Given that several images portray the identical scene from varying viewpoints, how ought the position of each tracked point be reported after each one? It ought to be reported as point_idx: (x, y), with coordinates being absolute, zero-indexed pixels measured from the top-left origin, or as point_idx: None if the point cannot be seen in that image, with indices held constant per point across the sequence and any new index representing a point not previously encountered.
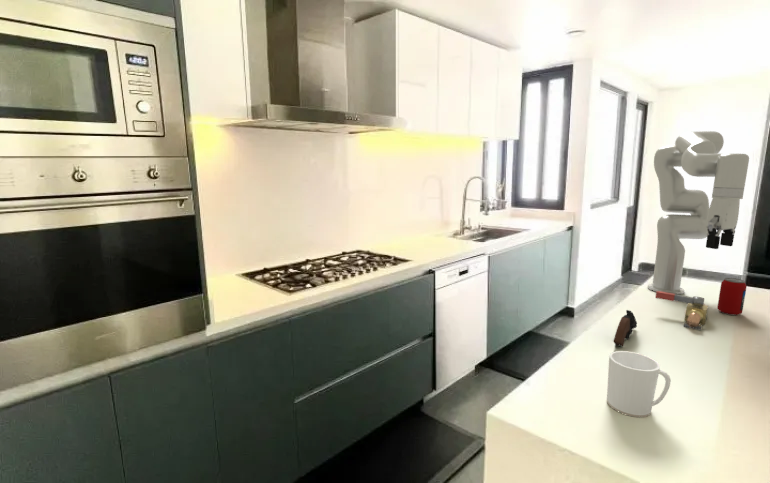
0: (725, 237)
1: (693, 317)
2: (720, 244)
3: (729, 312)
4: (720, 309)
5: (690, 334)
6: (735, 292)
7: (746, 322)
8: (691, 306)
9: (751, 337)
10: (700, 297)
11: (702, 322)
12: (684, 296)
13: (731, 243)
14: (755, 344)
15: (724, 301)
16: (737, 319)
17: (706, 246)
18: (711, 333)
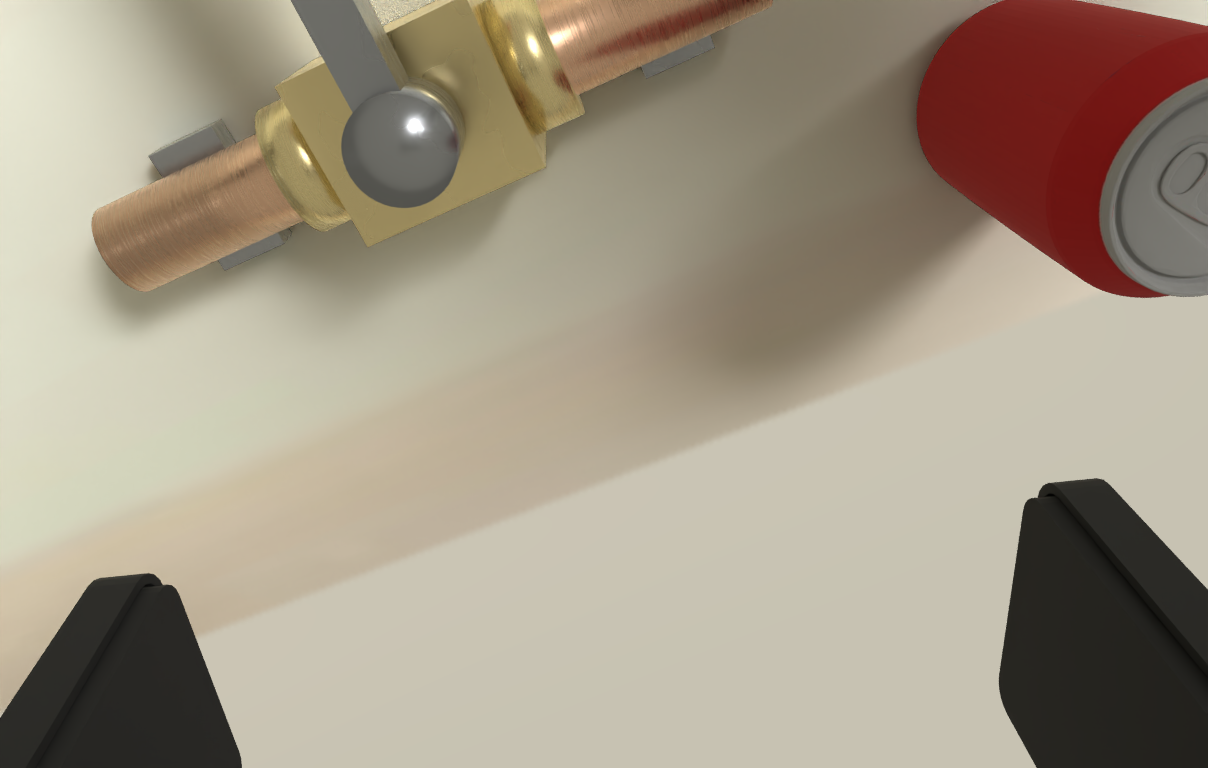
0: (1150, 763)
1: (120, 260)
2: (1050, 486)
3: (922, 144)
4: (934, 64)
5: (55, 278)
6: (1022, 227)
7: (822, 299)
8: (338, 105)
9: (476, 471)
10: (435, 153)
11: None
12: (332, 8)
13: (1040, 749)
14: (360, 538)
15: (959, 113)
16: (844, 230)
17: (94, 601)
18: (258, 328)
